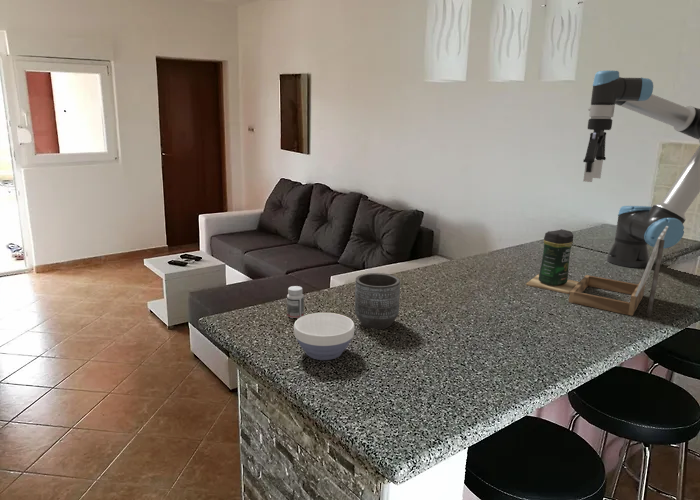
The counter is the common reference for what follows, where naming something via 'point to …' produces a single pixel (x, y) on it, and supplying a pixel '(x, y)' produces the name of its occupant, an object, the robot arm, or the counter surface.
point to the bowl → (324, 334)
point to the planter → (377, 299)
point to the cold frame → (621, 287)
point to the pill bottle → (295, 302)
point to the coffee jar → (556, 257)
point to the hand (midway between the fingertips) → (592, 179)
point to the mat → (559, 288)
